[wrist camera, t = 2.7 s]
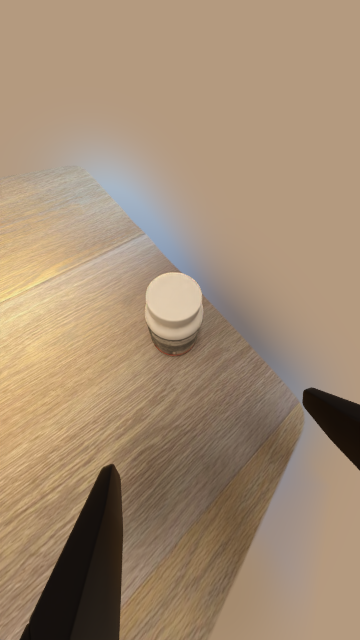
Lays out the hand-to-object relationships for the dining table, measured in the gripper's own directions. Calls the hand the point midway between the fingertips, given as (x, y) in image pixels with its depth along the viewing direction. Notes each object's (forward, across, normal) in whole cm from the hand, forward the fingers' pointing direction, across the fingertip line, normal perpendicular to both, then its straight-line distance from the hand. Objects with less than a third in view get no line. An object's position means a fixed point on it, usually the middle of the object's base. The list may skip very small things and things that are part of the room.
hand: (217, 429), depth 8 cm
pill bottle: (+16, -1, +3) cm, 17 cm away
